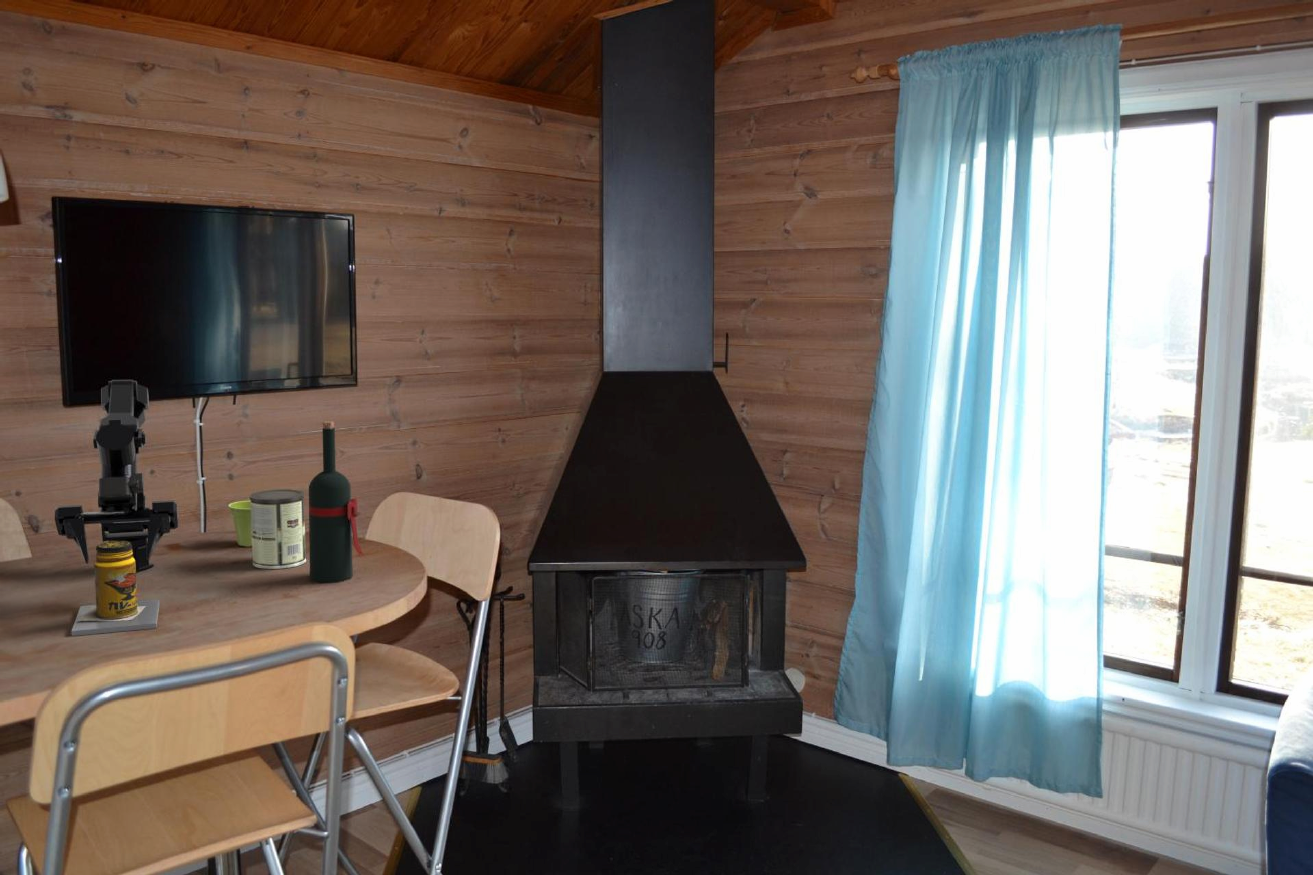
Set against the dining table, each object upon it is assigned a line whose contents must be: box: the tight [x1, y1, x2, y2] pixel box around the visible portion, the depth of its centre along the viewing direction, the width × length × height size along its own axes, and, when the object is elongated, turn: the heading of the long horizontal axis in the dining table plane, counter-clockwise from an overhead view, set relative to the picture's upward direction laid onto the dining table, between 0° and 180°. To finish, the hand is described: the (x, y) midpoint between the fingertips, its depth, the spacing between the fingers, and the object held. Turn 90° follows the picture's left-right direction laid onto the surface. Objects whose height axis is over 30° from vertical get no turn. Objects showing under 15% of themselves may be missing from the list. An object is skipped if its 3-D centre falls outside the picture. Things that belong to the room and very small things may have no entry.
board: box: [71, 599, 160, 637], centre depth 174 cm, size 14×12×1 cm
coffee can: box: [249, 488, 307, 570], centre depth 210 cm, size 10×10×14 cm
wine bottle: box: [308, 420, 365, 584], centre depth 199 cm, size 8×10×30 cm
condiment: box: [77, 541, 146, 621], centre depth 173 cm, size 7×8×12 cm
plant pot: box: [227, 500, 252, 548], centre depth 225 cm, size 9×9×9 cm
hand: (117, 560), depth 178 cm, fingers open, 9 cm apart
